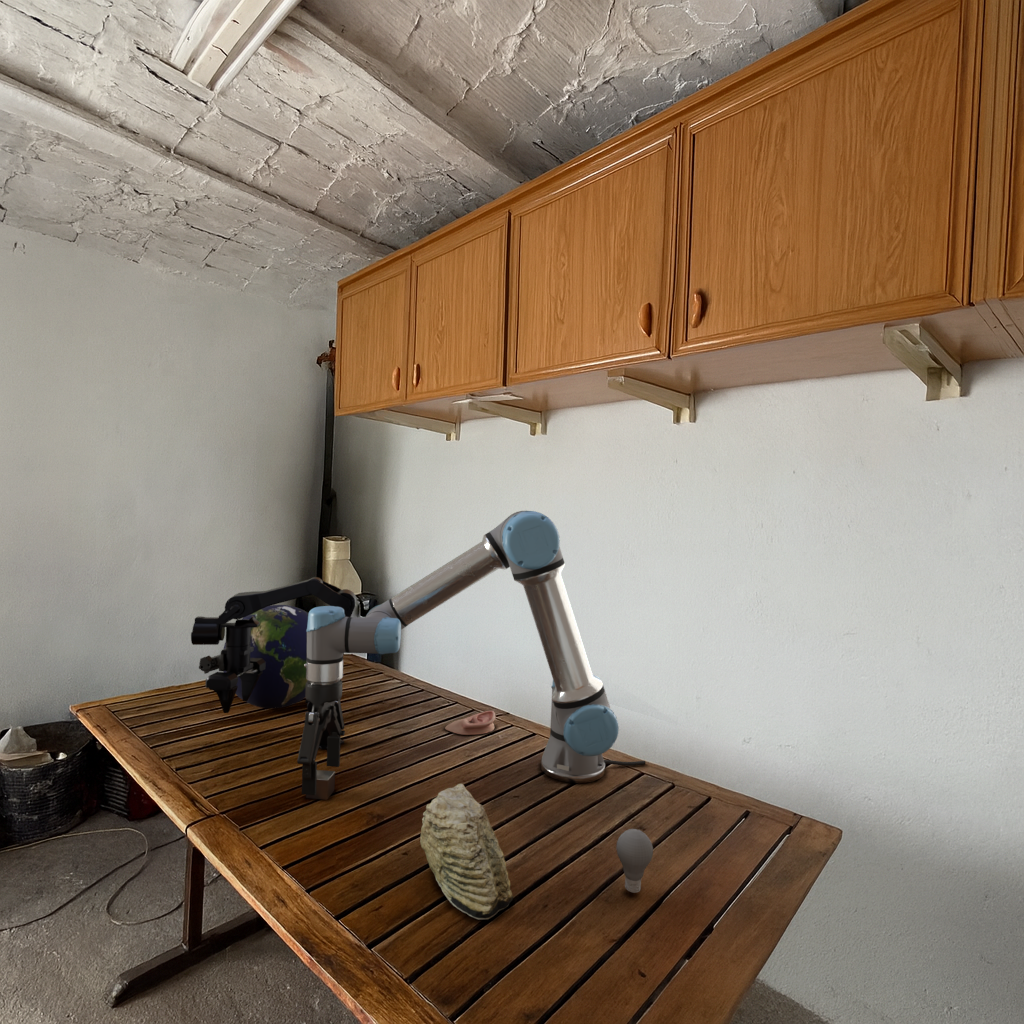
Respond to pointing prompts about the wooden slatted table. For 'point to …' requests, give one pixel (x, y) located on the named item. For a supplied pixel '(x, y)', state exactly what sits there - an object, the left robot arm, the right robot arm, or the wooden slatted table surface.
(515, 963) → the wooden slatted table surface
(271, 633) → the globe
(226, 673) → the left robot arm
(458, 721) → the anatomical model
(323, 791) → the block
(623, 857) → the light bulb
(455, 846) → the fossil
